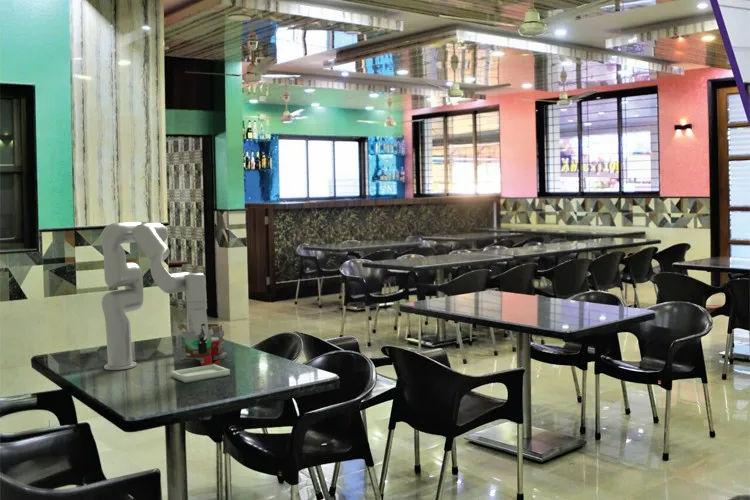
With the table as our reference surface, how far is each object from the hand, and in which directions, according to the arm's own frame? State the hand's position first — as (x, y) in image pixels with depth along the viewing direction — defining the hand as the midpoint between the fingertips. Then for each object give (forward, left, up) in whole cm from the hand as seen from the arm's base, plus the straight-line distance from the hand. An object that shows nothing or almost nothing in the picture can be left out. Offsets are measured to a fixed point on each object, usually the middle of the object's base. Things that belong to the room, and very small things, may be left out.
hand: (199, 351), depth 298 cm
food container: (+1, 0, -2) cm, 2 cm away
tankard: (-32, +15, -10) cm, 37 cm away
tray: (0, 0, -9) cm, 9 cm away
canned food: (-15, +11, -9) cm, 21 cm away
